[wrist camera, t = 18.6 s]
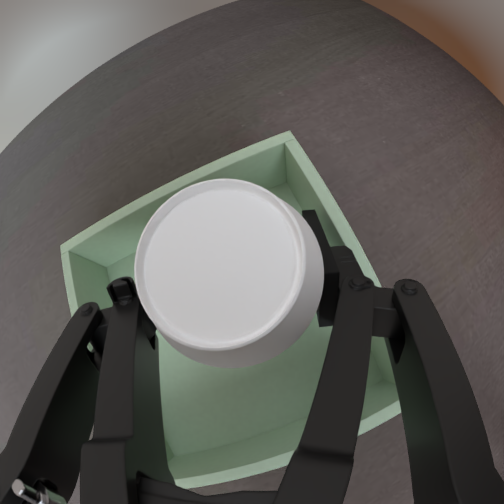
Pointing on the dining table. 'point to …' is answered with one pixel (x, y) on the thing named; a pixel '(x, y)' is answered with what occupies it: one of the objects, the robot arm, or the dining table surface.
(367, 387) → the bin
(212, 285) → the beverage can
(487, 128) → the dining table surface
